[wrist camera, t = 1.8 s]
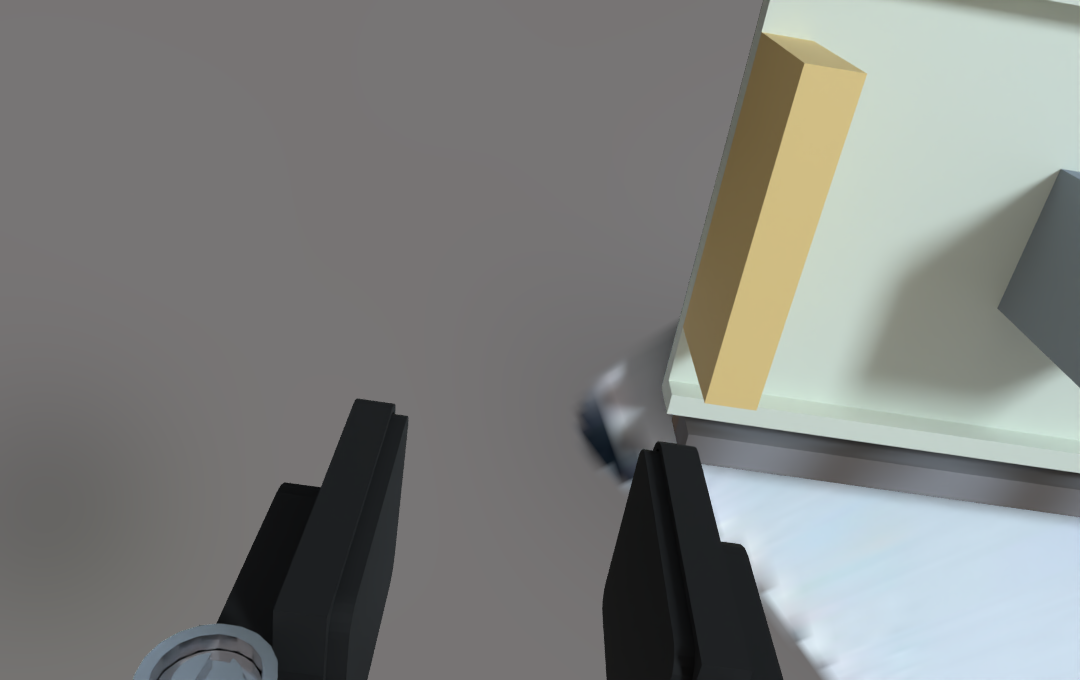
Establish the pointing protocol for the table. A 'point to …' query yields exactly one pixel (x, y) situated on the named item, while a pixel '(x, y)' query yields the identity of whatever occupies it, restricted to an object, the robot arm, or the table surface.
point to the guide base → (880, 466)
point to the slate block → (1051, 279)
